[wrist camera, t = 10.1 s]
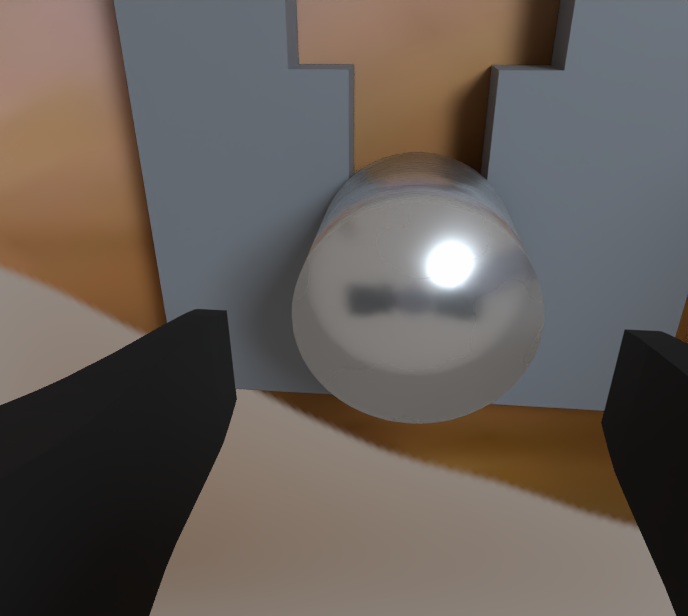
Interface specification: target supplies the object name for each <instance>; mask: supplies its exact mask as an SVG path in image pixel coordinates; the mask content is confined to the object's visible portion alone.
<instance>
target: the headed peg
mask: <svg viewBox="0 0 688 616" xmlns="http://www.w3.org/2000/svg"><path fill="white" fill-rule="evenodd" d="M292 324H293V332H294V336H295V340H296V343H297V346H298V349H299V351H300V353H301V356H302V358H303V360H304V361H305V363H306V365H307V366H308V368H309V370H310V371H311V372H312V374H313V375H314V376H315V378H316V379H317V380H318V381H319V382H320V383H321V384H322V385H323V386H324V387H325V388H326V389H327V390H328V391H329V392H330V393H332V394H333V395H334V396H335V397H337V398H338V399H339V400H341V401H342V402H344V403H346V404H347V405H349V406H350V407H352V408H355V409H357V410H359V411H361V412H363V413H365V414H368V415H371V416H374V417H377V418H380V419H385V420H389V421H394V422H402V423H419V424H423V423H435V422H442V421H447V420H452V419H456V418H459V417H462V416H466V415H468V414H470V413H473V412H475V411H478V410H480V409H482V408H483V407H485V406H487V405H489V404H491V403H492V402H494V401H495V400H497V399H498V398H499V397H501V396H502V395H503V394H505V393H506V392H507V391H508V390H509V389H510V388H511V387H512V386H513V385H514V384H516V382H517V381H518V380H519V379H520V378H521V376H522V375H523V374H524V373H525V371H526V370H527V368H528V366H529V365H530V363H531V362H532V360H533V358H534V356H535V353H536V351H537V349H538V347H539V343H540V340H541V336H542V332H543V325H544V300H543V295H542V290H541V286H540V283H539V280H538V278H537V275H536V272H535V270H534V268H533V266H532V264H531V261H530V259H529V257H528V255H527V253H526V251H525V248H524V246H523V244H522V242H521V240H520V238H519V235H518V233H517V231H516V229H515V227H514V225H513V222H512V220H511V218H510V216H509V214H508V211H507V209H506V207H505V205H504V203H503V201H502V200H501V198H500V196H499V194H498V193H497V192H496V190H495V189H494V188H493V186H492V185H491V184H490V183H489V182H488V181H487V180H486V179H485V178H484V177H483V176H482V175H481V174H479V173H478V172H477V171H475V170H474V169H473V168H471V167H470V166H468V165H466V164H464V163H462V162H460V161H458V160H455V159H453V158H450V157H447V156H443V155H439V154H435V153H425V152H410V153H402V154H396V155H392V156H389V157H385V158H382V159H380V160H378V161H375V162H373V163H371V164H369V165H367V166H366V167H364V168H362V169H361V170H359V171H358V172H357V173H355V174H354V175H353V176H352V177H351V178H349V179H348V180H347V181H346V182H345V184H344V185H343V186H342V187H341V188H340V189H339V191H338V192H337V193H336V195H335V196H334V198H333V199H332V201H331V203H330V205H329V207H328V209H327V211H326V214H325V216H324V218H323V221H322V223H321V225H320V228H319V230H318V232H317V235H316V237H315V239H314V242H313V244H312V247H311V249H310V251H309V254H308V256H307V258H306V261H305V263H304V265H303V268H302V270H301V272H300V275H299V278H298V281H297V284H296V286H295V290H294V296H293V301H292Z"/></svg>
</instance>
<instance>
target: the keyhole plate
mask: <svg viewBox="0 0 688 616" xmlns="http://www.w3.org/2000/svg"><path fill="white" fill-rule="evenodd" d="M114 6H115V12H116V18H117V24H118V30H119V36H120V42H121V48H122V54H123V60H124V66H125V72H126V79H127V85H128V91H129V97H130V103H131V109H132V115H133V121H134V127H135V133H136V139H137V145H138V151H139V157H140V163H141V169H142V175H143V181H144V187H145V193H146V199H147V205H148V211H149V217H150V223H151V229H152V236H153V242H154V248H155V254H156V260H157V266H158V272H159V278H160V284H161V290H162V296H163V302H164V308H165V314H166V320H167V323H168V322H170V321H172V320H173V319H175V318H177V317H179V316H181V315H183V314H185V313H187V312H189V311H192V310H194V309H209V310H227V316H228V325H229V334H230V343H231V353H232V362H233V371H234V380H235V389H248V390H265V391H282V392H298V393H315V394H332V393H330V392H329V391H328V390H327V389H326V388H325V387H324V386H323V385H322V384H321V383H320V382H319V381H318V380H317V379H316V378H315V376H314V375H313V374H312V372H311V371H310V370H309V368H308V366H307V365H306V363H305V361H304V360H303V358H302V356H301V353H300V351H299V349H298V346H297V343H296V340H295V336H294V332H293V324H292V301H293V296H294V290H295V286H296V284H297V281H298V278H299V275H300V272H301V270H302V268H303V265H304V263H305V261H306V258H307V256H308V254H309V251H310V249H311V247H312V244H313V242H314V239H315V237H316V235H317V232H318V230H319V228H320V225H321V223H322V221H323V218H324V216H325V214H326V211H327V209H328V207H329V205H330V203H331V201H332V199H333V198H334V196H335V195H336V193H337V192H338V191H339V189H340V188H341V187H342V186H343V185H344V184H345V182H346V181H347V180H348V179H349V178H351V177H352V176H353V175H354V64H299V57H298V30H297V4H296V0H114ZM481 175H482V176H483V177H484V178H485V179H486V180H487V181H488V182H489V183H490V184H491V185H492V186H493V188H494V189H495V190H496V192H497V193H498V194H499V196H500V198H501V200H502V201H503V203H504V205H505V207H506V209H507V211H508V214H509V216H510V218H511V220H512V222H513V225H514V227H515V229H516V231H517V233H518V235H519V238H520V240H521V242H522V244H523V246H524V248H525V251H526V253H527V255H528V257H529V259H530V261H531V264H532V266H533V268H534V270H535V272H536V275H537V278H538V280H539V283H540V286H541V290H542V295H543V300H544V325H543V332H542V336H541V340H540V343H539V347H538V349H537V351H536V353H535V356H534V358H533V360H532V362H531V363H530V365H529V366H528V368H527V370H526V371H525V373H524V374H523V375H522V376H521V378H520V379H519V380H518V381H517V382H516V384H514V385H513V386H512V387H511V388H510V389H509V390H508V391H507V392H506V393H505V394H503V395H502V396H501V397H499V398H498V399H497V400H495V401H494V402H492V403H491V404H500V405H517V406H534V407H551V408H568V409H584V410H601V411H604V410H605V406H606V402H607V398H608V394H609V390H610V386H611V382H612V378H613V374H614V370H615V366H616V362H617V358H618V354H619V350H620V346H621V342H622V338H623V334H624V330H625V329H627V330H648V331H662V332H664V333H667V334H669V335H671V336H673V337H675V336H676V333H677V329H678V326H679V322H680V319H681V316H682V312H683V309H684V306H685V302H686V299H687V296H688V0H561V1H560V7H559V14H558V21H557V28H556V35H555V41H554V48H553V55H552V62H551V65H492V68H491V78H490V87H489V97H488V107H487V116H486V126H485V135H484V145H483V155H482V164H481ZM332 395H333V394H332Z"/></svg>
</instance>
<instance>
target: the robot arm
mask: <svg viewBox="0 0 688 616" xmlns="http://www.w3.org/2000/svg"><path fill="white" fill-rule="evenodd" d="M236 400H237V398H236V389H235V380H234V371H233V362H232V353H231V343H230V334H229V325H228V316H227V310H209V309H194V310H192V311H189V312H187V313H185V314H183V315H181V316H179V317H177V318H175V319H173V320H172V321H170V322H168V323H166V324H164V325H163V326H161V327H159V328H157V329H155V330H154V331H152V332H150V333H148V334H147V335H145V336H143V337H141V338H139V339H138V340H136V341H134V342H132V343H131V344H129V345H127V346H125V347H124V348H122V349H120V350H118V351H116V352H115V353H113V354H111V355H109V356H107V357H105V358H103V359H101V360H99V361H97V362H95V363H93V364H91V365H89V366H87V367H85V368H83V369H81V370H79V371H77V372H76V373H73V374H72V375H70V376H68V377H66V378H63V379H61V380H59V381H57V382H55V383H53V384H50V385H48V386H46V387H44V388H41V389H39V390H37V391H35V392H32V393H30V394H27V395H25V396H22V397H20V398H18V399H15V400H13V401H10V402H8V403H5V404H3V405H0V616H149V615H150V612H151V609H152V606H153V603H154V600H155V597H156V595H157V592H158V589H159V586H160V583H161V580H162V578H163V575H164V572H165V569H166V566H167V564H168V562H169V559H170V557H171V555H172V552H173V550H174V547H175V545H176V542H177V540H178V538H179V536H180V534H181V532H182V530H183V527H184V526H185V524H186V521H187V519H188V517H189V515H190V513H191V511H192V509H193V507H194V505H195V503H196V501H197V498H198V496H199V494H200V492H201V490H202V488H203V486H204V484H205V482H206V480H207V477H208V475H209V473H210V471H211V469H212V467H213V464H214V462H215V460H216V458H217V456H218V454H219V452H220V449H221V447H222V445H223V442H224V439H225V436H226V433H227V430H228V427H229V424H230V420H231V417H232V414H233V410H234V407H235V403H236ZM601 423H602V427H603V431H604V435H605V439H606V443H607V447H608V450H609V454H610V457H611V461H612V464H613V468H614V471H615V474H616V476H617V478H618V481H619V483H620V486H621V488H622V490H623V493H624V495H625V497H626V500H627V502H628V504H629V507H630V509H631V511H632V513H633V516H634V518H635V520H636V522H637V525H638V527H639V529H640V531H641V534H642V536H643V538H644V540H645V543H646V545H647V547H648V550H649V552H650V554H651V556H652V558H653V560H654V563H655V565H656V568H657V570H658V572H659V574H660V576H661V579H662V581H663V583H664V586H665V588H666V591H667V593H668V596H669V598H670V601H671V603H672V606H673V608H674V611H675V613H676V616H688V344H687V343H685V342H683V341H681V340H679V339H677V338H675V337H673V336H671V335H669V334H667V333H664V332H662V331H648V330H627V329H625V330H624V334H623V338H622V342H621V346H620V350H619V354H618V358H617V362H616V366H615V370H614V374H613V378H612V382H611V386H610V390H609V394H608V398H607V402H606V406H605V410H604V414H603V418H602V422H601Z"/></svg>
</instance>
